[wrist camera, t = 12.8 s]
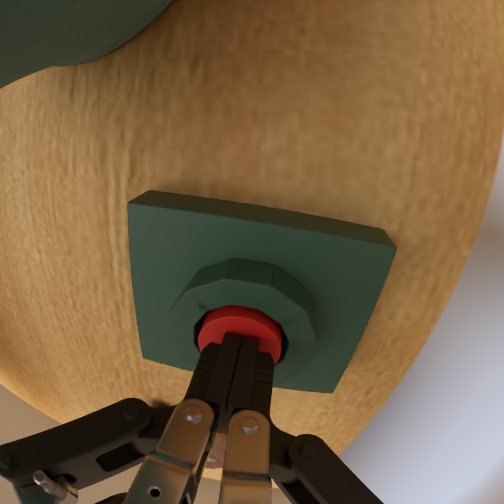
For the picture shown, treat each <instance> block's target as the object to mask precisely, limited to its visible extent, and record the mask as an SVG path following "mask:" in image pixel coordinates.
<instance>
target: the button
mask: <svg viewBox="0 0 504 504" xmlns="http://www.w3.org/2000/svg"><path fill="white" fill-rule="evenodd" d="M225 332H226V333H231V334H236V335H241V336H242V340H243V336H247V337H253V338H259V339H260V345H259V351H262V352H268V353H271V355H272V357H273V360H274V362H275V364H276V363H277V361H278V359H279V357H280V354H281V343H282V326H281V324H280V323H278V322H277V321H275V320H274V319H272V318H271V317H269V316H268V315H267V314H265V313H264V312H262V311H261V310H259V309H254V308H248V307H243V306H237V305H228V306H224V307H220V308H216V309H212V310H209V311H208V314H207V316H206V318H205V321H204V323H203V326H202V328H201V331H200V333H199V337H198V344H199V348H200V351H201V352H202V349H203V348H204V347H205V346H207V345H208V344H209V343H210V342H214V343H219V344H222V340H223V337H224V334H225ZM241 344H242V341H241ZM240 349H241V347H240Z"/></svg>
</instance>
